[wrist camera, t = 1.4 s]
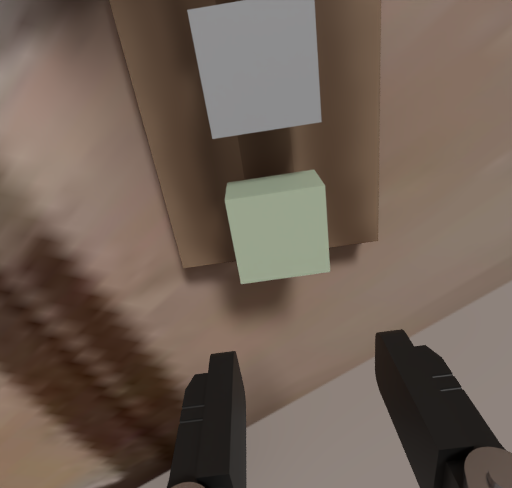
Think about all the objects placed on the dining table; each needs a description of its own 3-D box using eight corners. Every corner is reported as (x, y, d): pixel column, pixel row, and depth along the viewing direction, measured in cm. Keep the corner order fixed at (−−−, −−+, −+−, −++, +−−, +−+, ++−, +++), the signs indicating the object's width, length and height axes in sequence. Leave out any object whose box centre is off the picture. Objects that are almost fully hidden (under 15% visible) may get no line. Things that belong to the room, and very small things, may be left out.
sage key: (306, 158, 22) (325, 185, 17) (312, 229, 25) (330, 271, 20) (228, 170, 23) (224, 200, 18) (241, 239, 25) (240, 284, 20)
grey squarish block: (294, 9, 19) (313, -12, 14) (302, 108, 21) (321, 122, 16) (202, 25, 19) (187, 10, 14) (220, 121, 21) (212, 139, 16)
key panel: (362, -233, 17) (384, -290, 14) (365, 223, 28) (378, 240, 25) (77, -178, 17) (47, -223, 15) (189, 249, 28) (183, 268, 25)
